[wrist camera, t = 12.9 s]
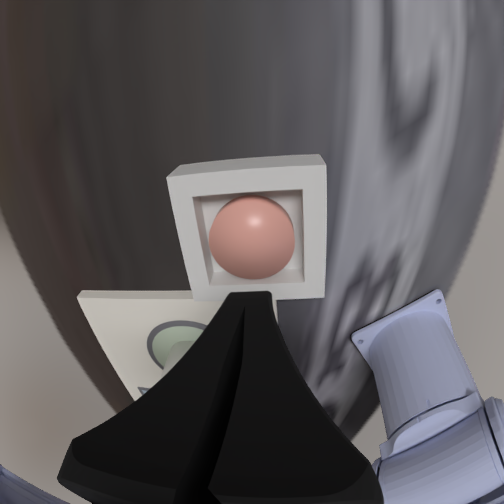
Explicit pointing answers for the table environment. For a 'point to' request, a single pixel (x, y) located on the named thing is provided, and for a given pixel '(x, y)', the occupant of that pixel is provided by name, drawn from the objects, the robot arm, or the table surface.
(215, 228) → the button
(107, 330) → the picture board
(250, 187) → the button box
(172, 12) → the table surface
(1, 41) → the table surface
